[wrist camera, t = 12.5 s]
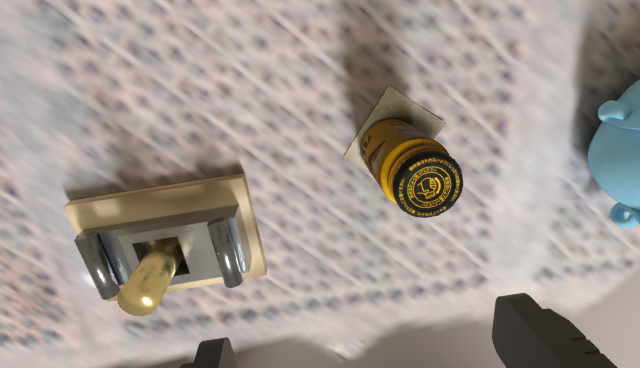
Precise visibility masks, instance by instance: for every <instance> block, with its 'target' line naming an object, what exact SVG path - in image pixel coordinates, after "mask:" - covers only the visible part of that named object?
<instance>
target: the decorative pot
mask: <svg viewBox="0 0 640 368" xmlns="http://www.w3.org/2000/svg"><path fill="white" fill-rule="evenodd" d="M598 117H599V118H600V119H601V120H602V123H601V124H600V126H599V128H598V130H597V132H596V133H595V135H594V137H593V139H592V142H591V144H590V146H589V150H588V163H589V167H590V170H591V173H592V175H593V177H594V179H595V180H596V182H597V184H598V185H599V186H600V187H601V188H602V189H603V190H604V191H605V192H606V193H607V194H608V195H609V196H610V197H611V198H613V199H614V200H616V201H617V202H619V203H617V204H615V205H614V206H613V207H612V209H611V212H610V218H611V220H612V221H613V222H614V223H615V224H616V225H618V226H620V227H623V228H631V227H634V226H636V225H637V223H638V222H639V223H640V80H638V81H636V82H635V83H634V84H632V85H631V86H630V87H629V88H628V89H627V90H626V91H625V92H624V93H623V94H622V95H621V96H620V98H619V99H618V100H617V101H614V100H609V101H607V102H605V103H604V104H603V105H601V107H600V108H599V110H598ZM628 212H629V213H630V215H629V217H628V218H627V219H626V220H625V216H626V214H627V213H628Z"/></svg>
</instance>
